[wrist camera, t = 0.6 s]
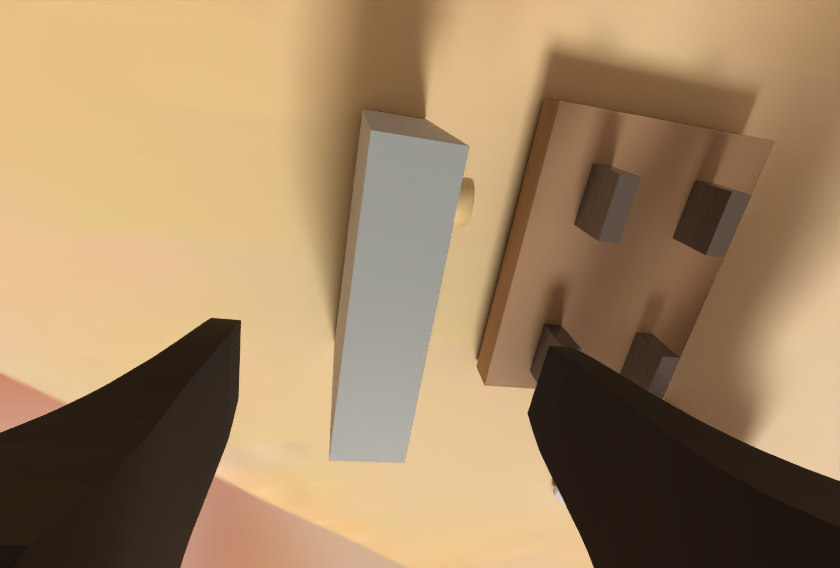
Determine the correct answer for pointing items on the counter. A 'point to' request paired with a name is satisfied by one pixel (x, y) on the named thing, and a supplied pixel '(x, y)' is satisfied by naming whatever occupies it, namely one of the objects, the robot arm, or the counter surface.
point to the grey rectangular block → (392, 279)
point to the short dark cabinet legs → (698, 228)
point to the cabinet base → (601, 261)
